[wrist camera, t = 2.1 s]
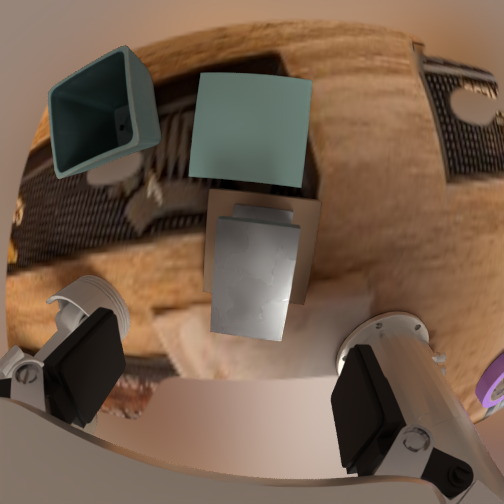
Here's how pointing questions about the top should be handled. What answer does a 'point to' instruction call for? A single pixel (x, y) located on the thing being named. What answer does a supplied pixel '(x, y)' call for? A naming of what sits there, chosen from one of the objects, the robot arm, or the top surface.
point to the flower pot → (102, 113)
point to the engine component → (72, 317)
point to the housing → (253, 271)
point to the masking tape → (492, 384)
